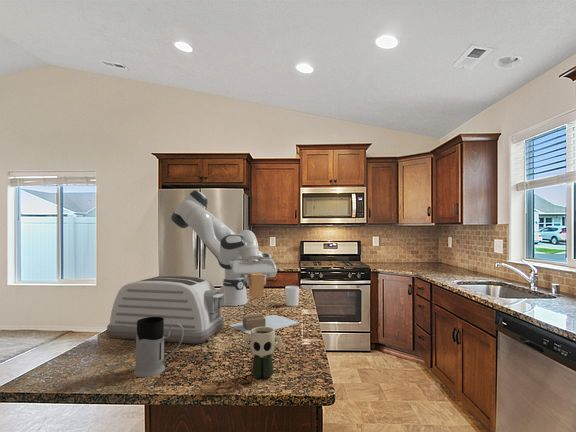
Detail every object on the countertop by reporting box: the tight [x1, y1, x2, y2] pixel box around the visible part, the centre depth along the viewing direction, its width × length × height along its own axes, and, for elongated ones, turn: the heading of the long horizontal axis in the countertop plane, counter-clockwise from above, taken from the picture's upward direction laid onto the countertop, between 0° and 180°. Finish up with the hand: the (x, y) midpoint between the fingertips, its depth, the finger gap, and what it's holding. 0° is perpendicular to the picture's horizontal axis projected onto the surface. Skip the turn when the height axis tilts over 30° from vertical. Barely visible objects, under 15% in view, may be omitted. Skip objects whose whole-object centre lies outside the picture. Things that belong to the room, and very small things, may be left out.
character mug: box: [243, 327, 282, 379], centre depth 94 cm, size 11×7×13 cm, turn 91°
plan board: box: [228, 314, 301, 336], centre depth 141 cm, size 18×26×1 cm
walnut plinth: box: [242, 313, 266, 330], centre depth 137 cm, size 8×8×4 cm
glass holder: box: [133, 317, 184, 378], centre depth 98 cm, size 9×14×15 cm, turn 94°
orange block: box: [248, 273, 265, 297], centre depth 138 cm, size 5×5×9 cm
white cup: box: [284, 285, 300, 307], centre depth 181 cm, size 8×8×10 cm
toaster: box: [106, 275, 225, 345], centre depth 133 cm, size 23×45×22 cm, turn 78°
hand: (256, 284), depth 138 cm, fingers closed on orange block, 5 cm apart
